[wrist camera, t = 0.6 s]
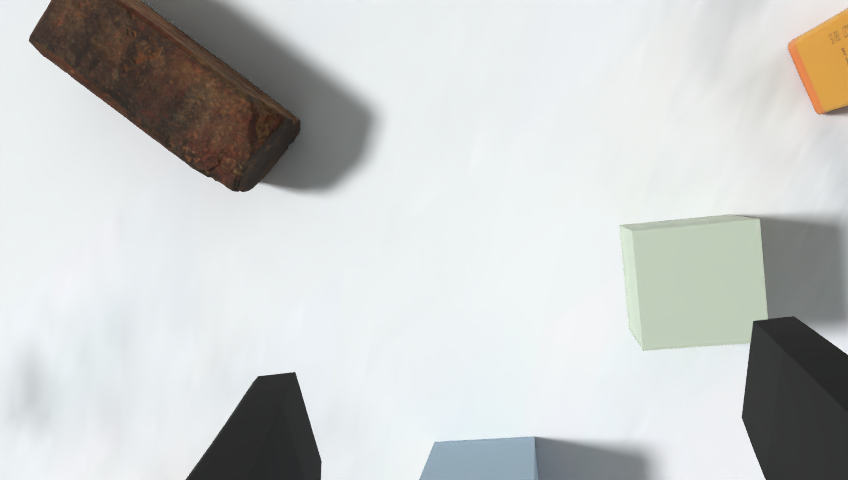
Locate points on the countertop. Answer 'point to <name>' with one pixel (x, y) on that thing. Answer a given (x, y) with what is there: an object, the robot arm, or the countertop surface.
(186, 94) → the brick
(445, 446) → the slate block
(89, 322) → the countertop surface
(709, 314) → the sage block
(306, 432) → the robot arm
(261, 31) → the countertop surface
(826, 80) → the supplement box
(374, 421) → the countertop surface
